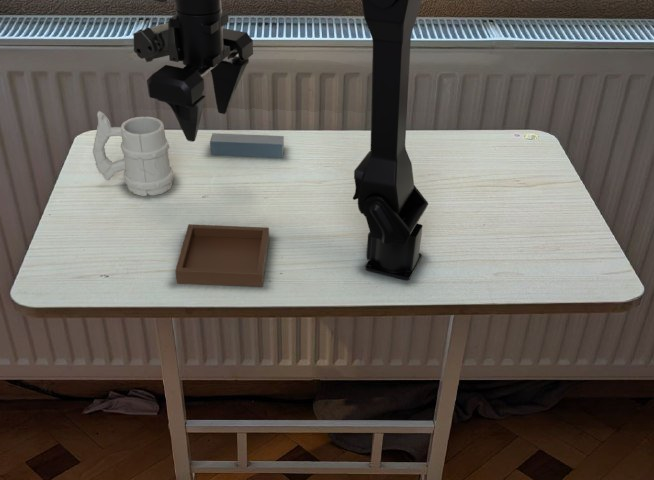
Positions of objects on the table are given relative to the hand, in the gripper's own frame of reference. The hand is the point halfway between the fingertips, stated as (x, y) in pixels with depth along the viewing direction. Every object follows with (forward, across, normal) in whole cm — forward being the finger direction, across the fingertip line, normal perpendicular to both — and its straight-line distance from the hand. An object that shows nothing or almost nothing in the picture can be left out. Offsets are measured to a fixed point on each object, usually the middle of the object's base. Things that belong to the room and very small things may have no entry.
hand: (207, 126), depth 114 cm
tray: (+15, +9, +6) cm, 18 cm away
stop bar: (+15, -21, -4) cm, 26 cm away
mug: (+15, -4, -16) cm, 22 cm away
